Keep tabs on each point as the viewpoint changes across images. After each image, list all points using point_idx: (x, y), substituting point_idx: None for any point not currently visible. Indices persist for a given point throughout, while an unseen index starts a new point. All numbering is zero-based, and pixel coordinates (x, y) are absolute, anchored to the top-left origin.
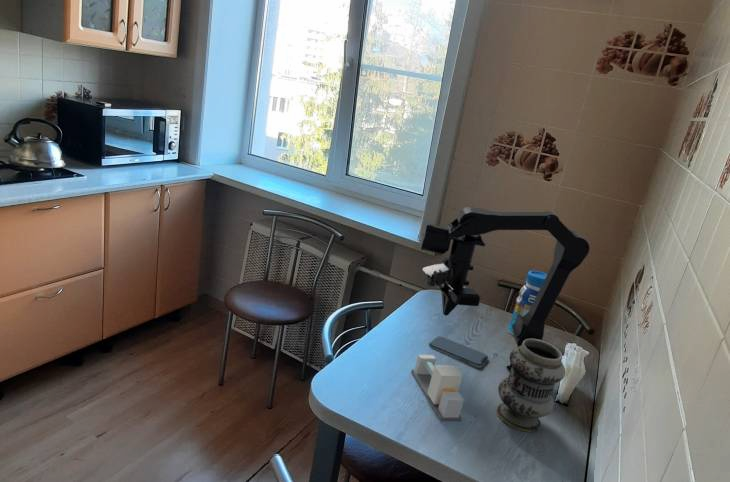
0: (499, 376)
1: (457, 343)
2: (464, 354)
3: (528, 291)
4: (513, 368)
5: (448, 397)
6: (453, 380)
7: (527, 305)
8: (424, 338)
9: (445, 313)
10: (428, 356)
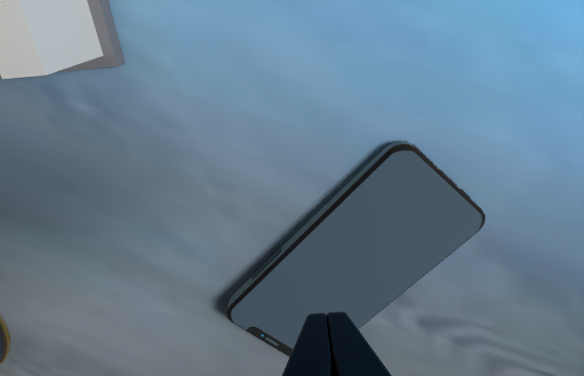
0: (190, 352)
1: (407, 283)
2: (306, 283)
3: None
4: None
5: None
6: None
7: None
8: (481, 138)
9: (300, 339)
10: (6, 23)
